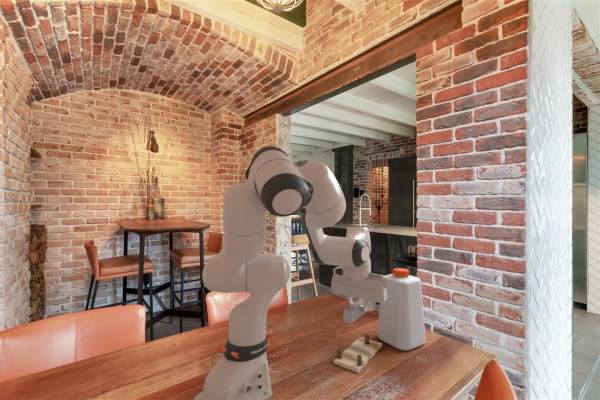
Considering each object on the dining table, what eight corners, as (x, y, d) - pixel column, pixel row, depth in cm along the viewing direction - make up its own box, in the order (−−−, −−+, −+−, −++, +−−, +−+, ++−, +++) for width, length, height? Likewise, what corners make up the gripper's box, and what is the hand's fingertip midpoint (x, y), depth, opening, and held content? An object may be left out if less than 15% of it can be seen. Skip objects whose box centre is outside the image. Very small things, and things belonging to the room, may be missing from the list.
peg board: (358, 373, 92) (358, 359, 92) (333, 363, 98) (333, 351, 98) (381, 346, 109) (381, 335, 109) (359, 339, 115) (359, 329, 115)
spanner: (356, 324, 94) (356, 312, 94) (339, 320, 98) (339, 308, 98) (378, 307, 110) (378, 297, 110) (363, 304, 113) (363, 294, 114)
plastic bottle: (398, 328, 124) (397, 263, 125) (430, 343, 112) (429, 270, 112) (373, 337, 116) (372, 268, 116) (404, 354, 104) (404, 276, 104)
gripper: (390, 273, 99) (390, 313, 99) (337, 265, 111) (337, 301, 111) (383, 277, 94) (383, 319, 94) (329, 268, 106) (329, 306, 106)
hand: (358, 309), depth 103 cm, fingers closed on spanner, 3 cm apart
